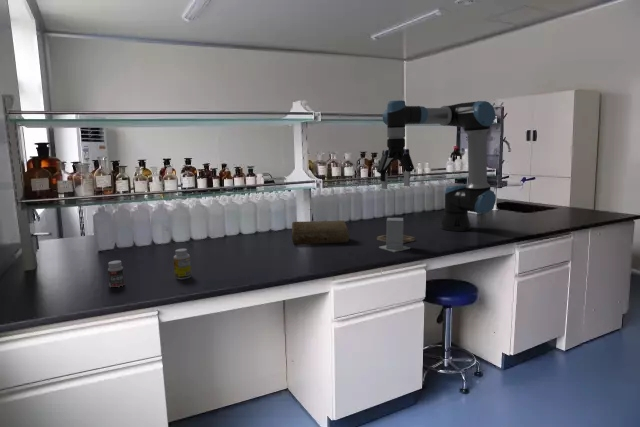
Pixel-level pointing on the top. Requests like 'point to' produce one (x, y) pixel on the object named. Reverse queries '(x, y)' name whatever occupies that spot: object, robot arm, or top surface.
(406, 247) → the sage pad
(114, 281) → the pill bottle
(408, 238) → the wooden collar
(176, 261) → the supplement bottle
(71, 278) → the top surface
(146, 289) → the top surface
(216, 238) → the top surface
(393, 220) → the supplement box
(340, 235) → the core sample
